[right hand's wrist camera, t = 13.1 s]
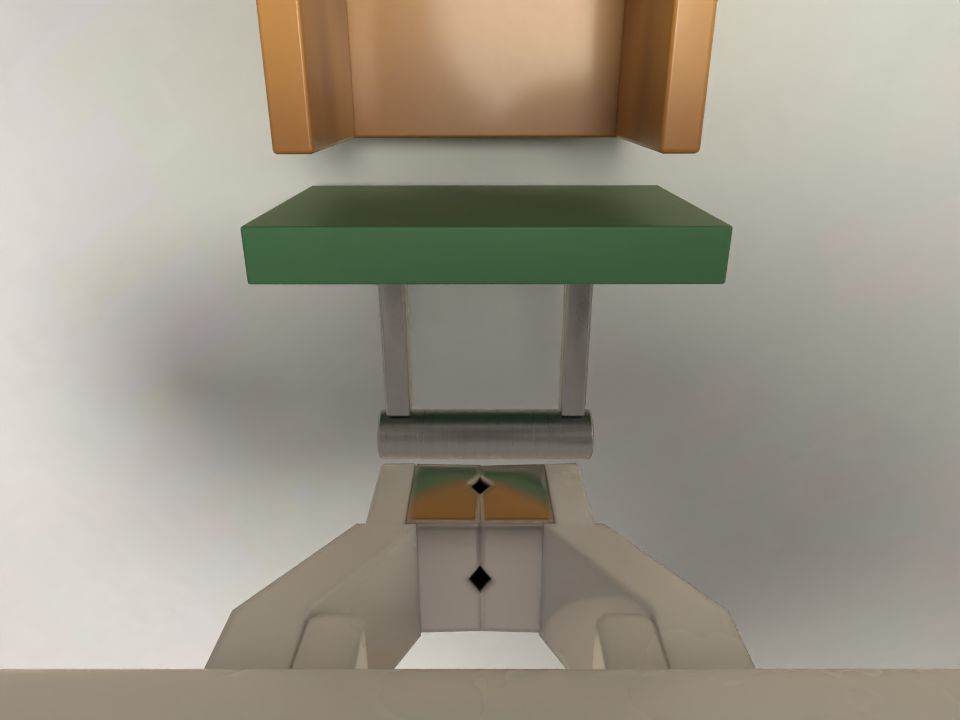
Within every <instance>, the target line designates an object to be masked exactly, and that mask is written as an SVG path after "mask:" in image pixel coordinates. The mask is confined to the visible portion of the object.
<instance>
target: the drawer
mask: <svg viewBox="0 0 960 720" xmlns="http://www.w3.org/2000/svg"><path fill="white" fill-rule="evenodd" d="M256 4H257V13H258V22H259V31H260V40H261V49H262V57H263V66H264V75H265V84H266V93H267V102H268V111H269V120H270V129H271V138H272V146H273V151H274V153H276V154H312V153H315V152H317V151H320V150H323V149H325V148H328V147H331V146H333V145H336V144H338V143H341V142H344V141H346V140H349V139H351V138H531V137H618V138H621V139H624V140H627V141H629V142H632V143H635V144H638V145H641V146H643V147H646V148H649V149H652V150H655V151H658V152H660V153H663V154H671V153H697V152H698V151H699V149H700V144H701V136H702V127H703V119H704V110H705V101H706V93H707V84H708V76H709V67H710V58H711V50H712V41H713V33H714V24H715V16H716V7H717V0H256ZM241 235H242V242H243V250H244V257H245V265H246V272H247V279H248V283H249V284H379V301H380V317H381V334H382V351H383V367H384V384H385V400H386V410H381V412H380V415H379V421H378V451H379V455H380V458H382V459H589V458H591V456H592V452H593V441H594V432H593V420H592V415H591V412H590V410H585V403H586V387H587V371H588V356H589V340H590V324H591V309H592V293H593V284H723V283H724V282H725V278H726V271H727V264H728V257H729V249H730V242H731V235H732V226H730V225H729V224H727V223H725V222H723V221H721V220H719V219H718V218H716V217H714V216H712V215H710V214H709V213H707V212H705V211H703V210H701V209H699V208H698V207H696V206H694V205H692V204H690V203H688V202H687V201H685V200H683V199H681V198H679V197H678V196H676V195H674V194H672V193H670V192H668V191H667V190H665V189H663V188H661V187H659V186H311V187H310V188H308V189H306V190H304V191H303V192H301V193H299V194H298V195H296V196H294V197H292V198H291V199H289V200H287V201H285V202H284V203H282V204H280V205H278V206H277V207H275V208H273V209H271V210H270V211H268V212H266V213H264V214H263V215H261V216H259V217H257V218H256V219H254V220H252V221H250V222H249V223H247V224H245V225H244V226H242V227H241ZM407 284H564V300H563V322H562V343H561V364H560V385H559V409H560V410H411V409H412V387H411V364H410V341H409V318H408V295H407Z"/></svg>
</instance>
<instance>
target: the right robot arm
mask: <svg viewBox="0 0 960 720" xmlns="http://www.w3.org/2000/svg"><path fill="white" fill-rule="evenodd" d="M453 631H506V632H539V635H540V637H541V638H542V639H543V640H544V642H545V643H546V644H547V645H548V647H549V648H550V649H551V650H552V652H553V653H554V654H555V655H556V657H557V658H558V659H559V660H560V662H561V663H562V664H563V665H564V667H565V668H566V669H394V668H395V667H396V666H397V665H398V663H399V662H400V661H401V660H402V658H403V657H404V656H405V655H406V653H407V652H408V651H409V650H410V648H411V647H412V646H413V645H414V643H415V642H416V641H417V640H418V638H419V637H420V636H421V632H453ZM0 720H960V669H756V668H755V666H754V664H753V662H752V660H751V658H750V656H749V654H748V651H747V649H746V647H745V645H744V643H743V641H742V639H741V637H740V635H739V632H738V630H737V628H736V626H735V624H734V622H733V620H732V618H731V616H730V614H729V612H728V611H727V610H726V609H724V608H723V607H721V606H720V605H719V604H717V603H716V602H714V601H713V600H711V599H710V598H709V597H707V596H706V595H704V594H703V593H701V592H700V591H699V590H697V589H696V588H694V587H693V586H691V585H690V584H689V583H687V582H686V581H684V580H683V579H681V578H680V577H679V576H677V575H676V574H674V573H673V572H671V571H670V570H669V569H667V568H666V567H664V566H663V565H661V564H660V563H659V562H657V561H656V560H654V559H653V558H651V557H650V556H649V555H647V554H646V553H644V552H643V551H641V550H640V549H639V548H637V547H636V546H634V545H633V544H631V543H630V542H629V541H627V540H626V539H624V538H623V537H621V536H620V535H619V534H617V533H616V532H614V531H613V530H611V529H610V528H609V527H607V526H606V525H604V524H594V521H593V518H592V514H591V510H590V506H589V503H588V499H587V495H586V492H585V488H584V484H583V481H582V477H581V473H580V469H579V466H578V465H577V464H576V463H569V464H545V465H544V464H535V465H494V466H480V465H442V464H417V465H415V464H414V463H412V464H384V465H383V466H382V467H381V469H380V472H379V476H378V480H377V484H376V487H375V491H374V495H373V499H372V502H371V506H370V510H369V514H368V518H367V521H366V524H356V525H354V526H353V527H351V528H350V529H349V530H347V531H346V532H344V533H343V534H341V535H340V536H339V537H337V538H336V539H334V540H333V541H331V542H330V543H328V544H327V545H326V546H324V547H323V548H321V549H320V550H318V551H317V552H316V553H314V554H313V555H311V556H310V557H308V558H307V559H306V560H304V561H303V562H301V563H300V564H298V565H297V566H295V567H294V568H293V569H291V570H290V571H288V572H287V573H285V574H284V575H283V576H281V577H280V578H278V579H277V580H275V581H274V582H273V583H271V584H270V585H268V586H267V587H265V588H264V589H263V590H261V591H260V592H258V593H257V594H255V595H254V596H252V597H251V598H250V599H248V600H247V601H245V602H244V603H242V604H241V605H240V606H238V607H237V608H235V609H234V610H232V612H231V614H230V616H229V619H228V621H227V623H226V625H225V627H224V629H223V631H222V633H221V635H220V637H219V639H218V641H217V643H216V645H215V648H214V650H213V652H212V654H211V656H210V658H209V660H208V662H207V664H206V666H205V668H204V669H0Z"/></svg>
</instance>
